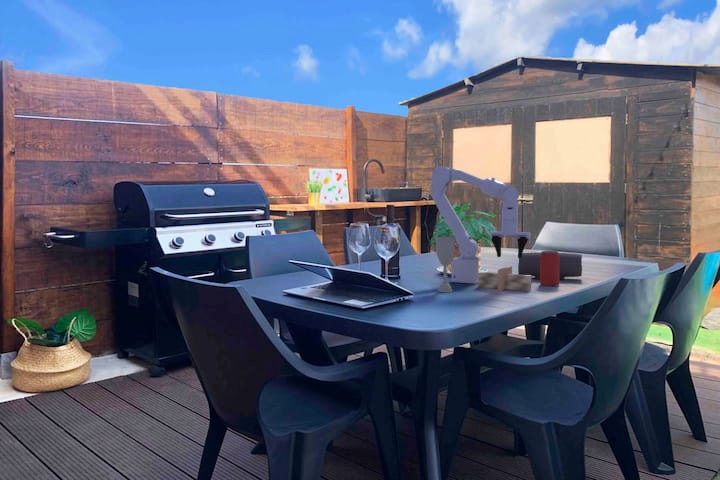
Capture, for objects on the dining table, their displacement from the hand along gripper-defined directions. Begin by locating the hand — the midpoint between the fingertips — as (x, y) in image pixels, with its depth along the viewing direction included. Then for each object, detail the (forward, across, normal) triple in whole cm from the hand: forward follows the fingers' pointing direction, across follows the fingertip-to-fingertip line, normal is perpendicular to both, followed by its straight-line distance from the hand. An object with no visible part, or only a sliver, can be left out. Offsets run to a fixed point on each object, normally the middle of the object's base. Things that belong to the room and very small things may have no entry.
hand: (509, 257), depth 221 cm
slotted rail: (+9, +2, -12) cm, 15 cm away
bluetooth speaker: (+10, +10, +18) cm, 23 cm away
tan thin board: (+9, +2, -11) cm, 15 cm away
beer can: (+10, +14, +2) cm, 17 cm away
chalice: (+10, -14, -26) cm, 31 cm away
